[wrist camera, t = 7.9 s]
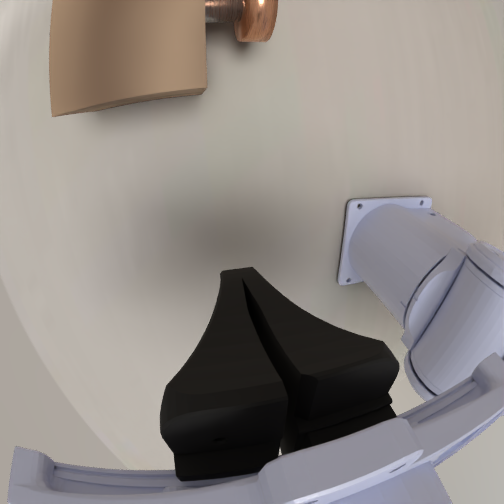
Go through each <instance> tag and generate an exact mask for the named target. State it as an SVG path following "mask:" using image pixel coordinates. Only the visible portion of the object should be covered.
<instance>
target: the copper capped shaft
mask: <svg viewBox="0 0 504 504" xmlns="http://www.w3.org/2000/svg"><path fill="white" fill-rule="evenodd" d="M277 9H278V0H205V23H213V22H234V29H235V35H236V38H237V40H238V41H239V42H267V41H268V40H269V39H270V37H271V35H272V33H273V30H274V26H275V22H276V17H277Z"/></svg>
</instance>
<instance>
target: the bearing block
mask: <svg viewBox="0 0 504 504" xmlns="http://www.w3.org/2000/svg"><path fill="white" fill-rule="evenodd" d="M49 76H50V97H51V110H52V117H56V116H62V115H69V114H76V113H84V112H93V111H98V110H103V109H107V108H112V107H117V106H122V105H127V104H132V103H138V102H143V101H150V100H156V99H163V98H171V97H179V96H188V95H199V94H202V93H203V92H204V91H205V90H206V88H207V67H206V32H205V0H53V4H52V14H51V26H50V47H49Z"/></svg>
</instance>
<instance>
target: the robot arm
mask: <svg viewBox="0 0 504 504" xmlns="http://www.w3.org/2000/svg"><path fill="white" fill-rule="evenodd" d="M420 201H421V203H420ZM358 204H360V206H359V207H358V208H357V206H358ZM431 204H432V199H431V198H430V197H428V196H420V197H391V198H369V199H353V200H350V201H349V202H348V204H347V211H346V221H345V229H344V237H343V245H342V253H341V260H340V267H339V273H338V280H337V281H338V283H339V285H341V286H343V285H349V284H354V283H359V282H365V283H366V284H367V285H368V286H369V288H370V289H371V290H372V291H373V292H374V293H375V295H376V296H377V297H378V298H379V299H380V300H381V302H382V303H383V304H384V305H385V306H386V308H387V309H388V310H389V311H390V312H391V314H392V315H393V316H394V317H395V318H396V320H397V321H398V322H399V323H400V325H401V326H402V327H403V328H404V330H405V332H404V334H403V336H402V338H401V341H402V342H403V343H404V344H405V346H406V347H407V348H408V350H409V351H408V352H407V353H406V355H405V359H404V368H405V372H406V375H407V377H408V379H409V381H410V384H411V385H412V387H413V388H414V390H415V391H416V393H417V394H418V395H419V396H420V397H421V398H422V399H424V400H425V401H426V402H425V403H423V404H421V405H419V406H417V407H415V408H413V409H411V410H409V411H407V412H404V413H402V414H400V415H398V416H396V414H395V412H394V411H393V409H392V407H391V406H390V404H391V403H392V398H391V397H390V395H389V393H388V392H389V390H390V388H391V386H392V385H393V383H394V381H395V379H396V377H397V374H398V372H399V362H398V361H397V360H396V358H395V357H394V355H393V353H392V352H391V350H390V349H389V348H388V347H387V345H386V344H385V343H384V342H383V341H380V340H376V339H372V338H369V337H365V336H361V335H358V334H355V333H352V332H349V331H346V330H343V329H341V328H338V327H336V326H334V325H331V324H329V323H327V322H325V321H323V320H321V319H319V318H317V317H315V316H313V315H311V314H310V313H308V312H306V311H305V310H303V309H301V308H300V307H298V306H297V305H295V304H294V303H293V302H291V301H290V300H289V299H287V298H286V297H285V296H284V295H282V294H281V293H280V292H279V291H278V290H276V289H275V288H274V287H273V286H272V285H271V284H270V283H269V282H268V281H266V280H265V279H264V278H263V277H262V276H261V275H260V274H259V273H258V272H257V271H256V270H255V269H254V268H253V267H248V268H240V269H233V270H225V271H222V272H221V273H220V278H221V282H220V289H219V294H218V298H217V302H216V305H215V308H214V311H213V314H212V317H211V319H210V322H209V324H208V326H207V328H206V330H205V332H204V334H203V336H202V338H201V340H200V342H199V343H198V345H197V347H196V348H195V350H194V352H193V353H192V354H191V356H190V357H189V359H188V360H187V362H186V363H185V364H184V366H183V367H182V368H181V369H180V371H179V372H178V373H177V374H176V375H175V376H174V377H173V379H172V380H171V381H170V382H169V383H168V384H167V385H166V388H165V392H164V395H163V400H162V404H161V411H160V433H161V435H162V438H163V439H164V441H165V442H166V444H167V445H168V446H169V448H170V449H171V451H172V452H173V453H174V462H175V470H119V469H105V468H94V467H85V466H77V465H70V464H64V463H58V462H54V461H53V460H52V459H51V458H50V457H48V456H47V455H45V454H44V453H41V452H39V451H36V450H31V449H27V448H23V447H19V446H16V447H15V450H14V455H13V461H12V467H11V473H10V481H9V490H8V501H7V502H8V504H452V501H451V499H450V498H449V496H448V494H447V492H446V490H445V488H444V486H443V484H442V482H441V480H440V478H439V477H438V475H437V473H436V471H435V469H434V467H436V466H437V465H439V464H440V463H442V462H443V461H445V460H446V459H448V458H449V457H450V456H452V455H453V454H455V453H456V452H457V451H458V450H460V449H461V448H463V447H464V446H465V445H467V444H468V443H469V442H470V441H472V440H473V439H474V438H475V437H477V436H478V435H479V434H480V433H482V432H483V431H484V430H485V429H486V428H488V427H489V426H490V425H491V424H492V423H493V422H495V420H497V419H498V418H499V417H500V416H503V415H504V252H503V251H501V250H500V249H498V248H496V247H495V246H493V245H491V244H489V243H487V242H484V241H478V242H477V240H476V239H475V237H474V236H473V235H472V234H471V233H469V232H468V231H466V230H465V229H463V228H462V227H460V226H459V225H457V224H455V223H454V222H452V221H451V220H449V219H447V218H446V217H444V216H443V215H441V214H439V213H438V212H436V211H434V210H433V209H431ZM348 278H349V279H348ZM347 279H348V280H347ZM279 448H281V453H282V455H280V456H278V455H279Z"/></svg>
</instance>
